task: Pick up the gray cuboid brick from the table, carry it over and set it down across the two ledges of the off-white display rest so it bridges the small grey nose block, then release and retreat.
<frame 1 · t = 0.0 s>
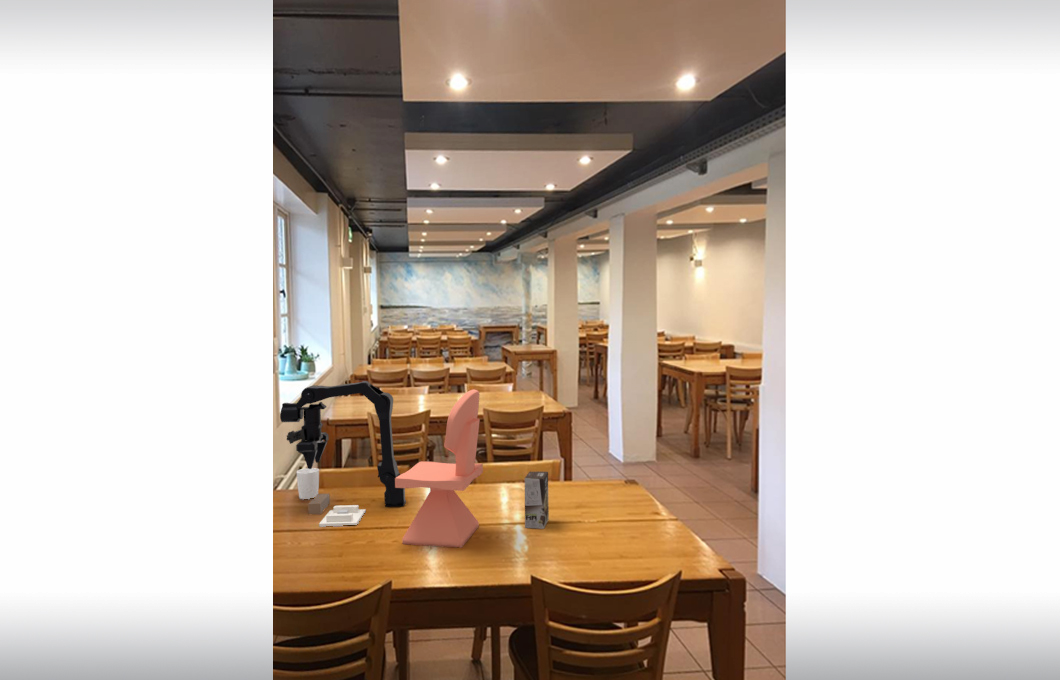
hand: (313, 465, 233), 15 cm above the table, tool pointing down, fingers open, 9 cm apart
gray cuboid brick: (319, 509, 231), on the table
chair: (444, 535, 203), on the table
white cup: (308, 497, 245), on the table
display rest: (343, 519, 219), on the table
coffee box: (537, 524, 212), on the table
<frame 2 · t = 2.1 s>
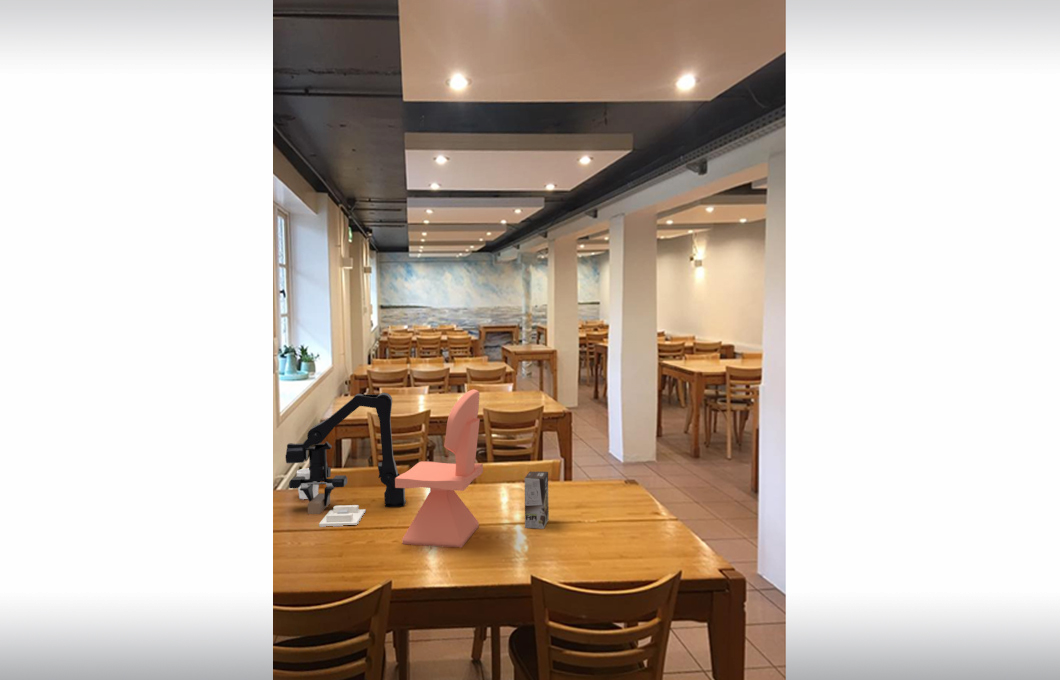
hand: (319, 506, 231), 1 cm above the table, tool pointing down, fingers closed on gray cuboid brick, 4 cm apart
gray cuboid brick: (319, 509, 231), on the table, touching gripper
everything else where it was.
when the fingers open (4 cm above the table, at t = 5.4 s): gray cuboid brick stays where it is, resting on display rest.
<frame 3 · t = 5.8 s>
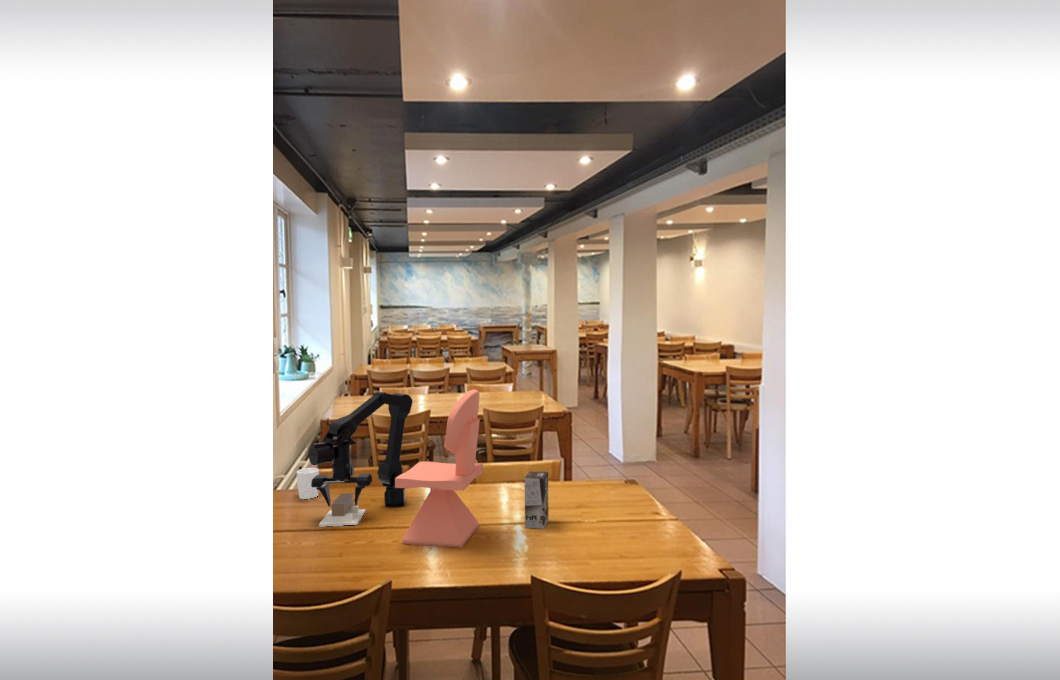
hand: (342, 505, 219), 4 cm above the table, tool pointing down, fingers open, 8 cm apart
gray cuboid brick: (342, 510, 219), point 3 cm above the table, touching display rest
everything else where it was.
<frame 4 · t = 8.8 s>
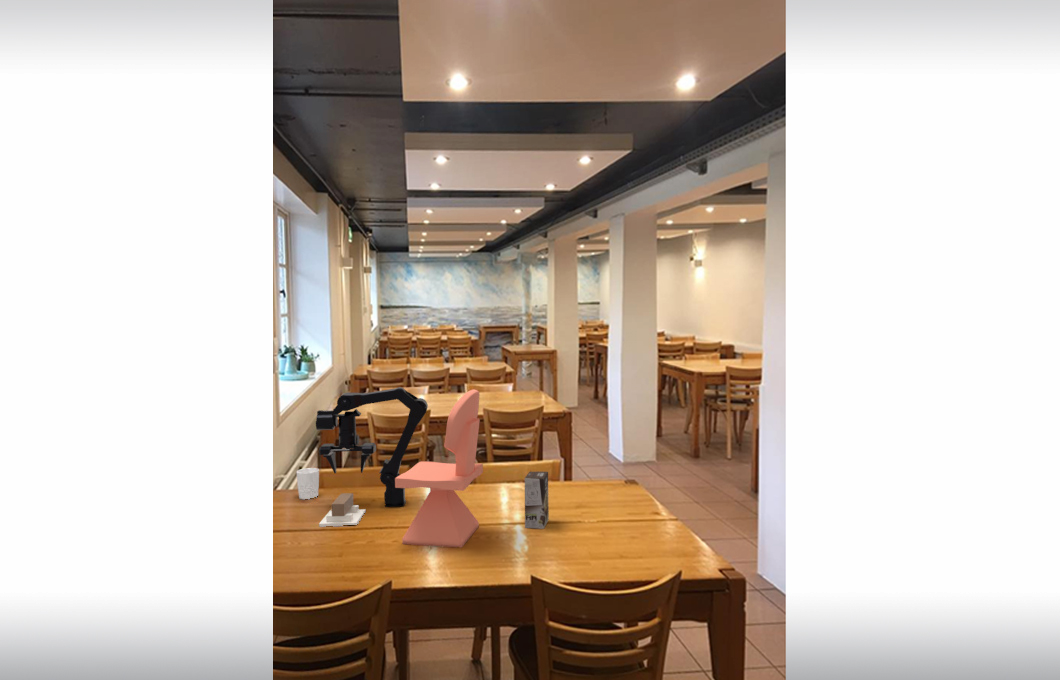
hand: (348, 472, 232), 12 cm above the table, tool pointing down, fingers open, 9 cm apart
nothing on the table moved.
at the end: gray cuboid brick 0.0 cm off-centre on the display rest, point 3.0 cm above the display rest's base; gray cuboid brick tilted 0°; the gripper is holding nothing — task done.
